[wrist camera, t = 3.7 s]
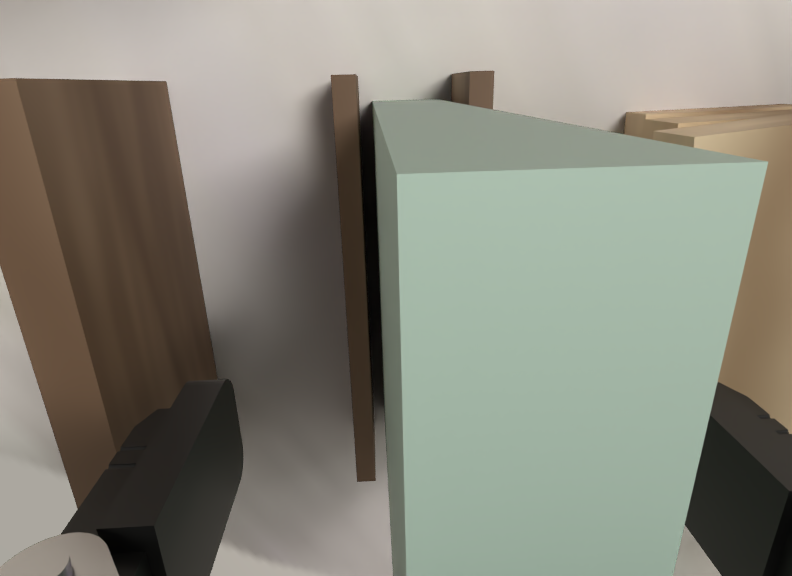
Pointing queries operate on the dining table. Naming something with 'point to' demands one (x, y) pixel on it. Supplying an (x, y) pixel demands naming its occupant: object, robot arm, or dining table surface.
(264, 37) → the dining table surface
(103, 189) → the walnut rack
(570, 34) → the dining table surface
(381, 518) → the dining table surface
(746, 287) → the offcut top
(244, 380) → the dining table surface
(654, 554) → the sage sheet
